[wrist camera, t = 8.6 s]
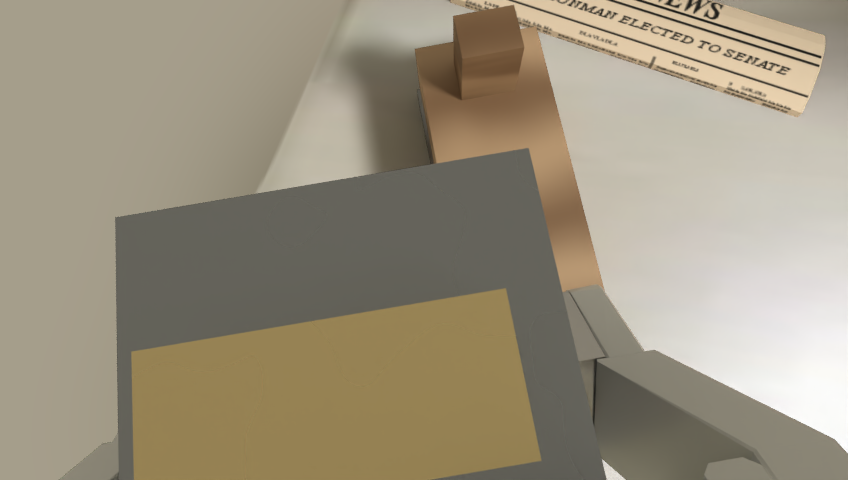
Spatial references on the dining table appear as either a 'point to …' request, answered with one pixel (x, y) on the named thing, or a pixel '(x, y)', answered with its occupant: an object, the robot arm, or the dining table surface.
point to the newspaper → (687, 43)
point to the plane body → (506, 121)
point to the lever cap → (352, 334)
